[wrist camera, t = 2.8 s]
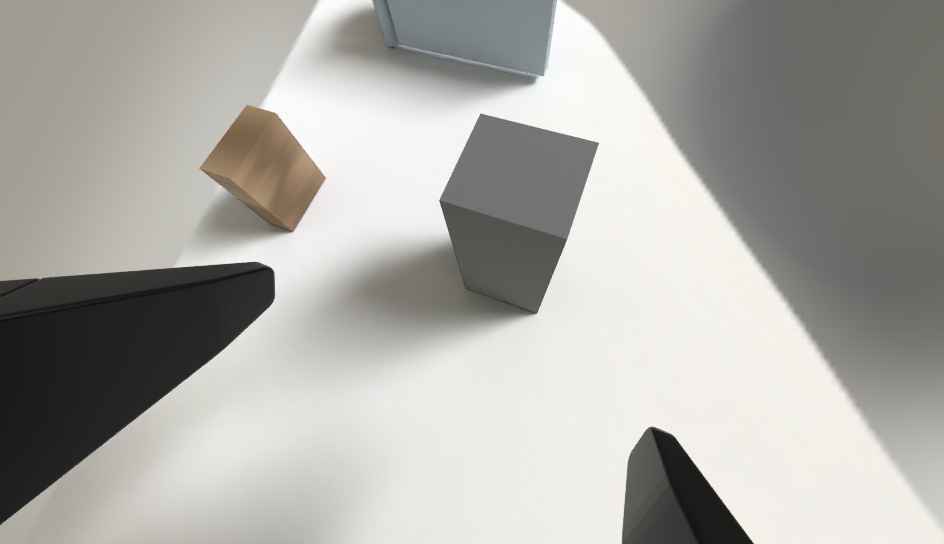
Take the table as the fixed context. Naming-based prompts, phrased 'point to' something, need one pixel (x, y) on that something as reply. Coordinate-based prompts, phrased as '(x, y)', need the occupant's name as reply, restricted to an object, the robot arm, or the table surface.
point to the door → (473, 29)
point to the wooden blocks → (265, 168)
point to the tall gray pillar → (514, 207)
